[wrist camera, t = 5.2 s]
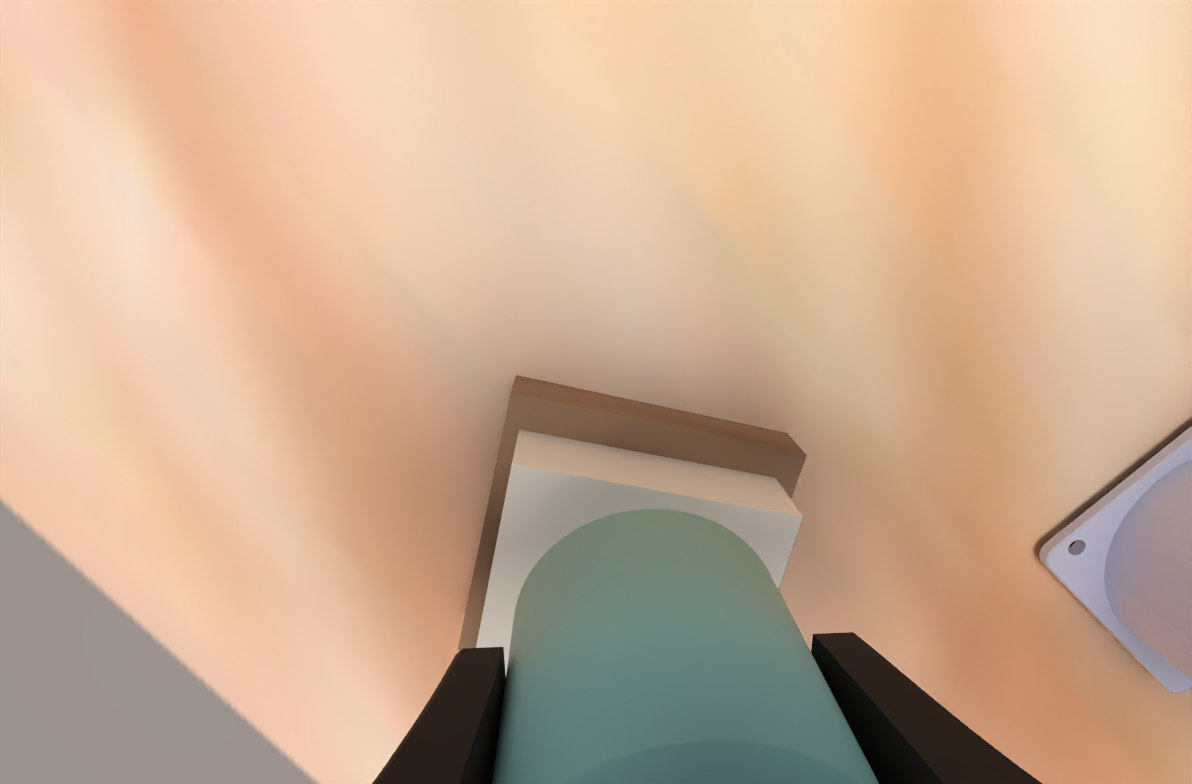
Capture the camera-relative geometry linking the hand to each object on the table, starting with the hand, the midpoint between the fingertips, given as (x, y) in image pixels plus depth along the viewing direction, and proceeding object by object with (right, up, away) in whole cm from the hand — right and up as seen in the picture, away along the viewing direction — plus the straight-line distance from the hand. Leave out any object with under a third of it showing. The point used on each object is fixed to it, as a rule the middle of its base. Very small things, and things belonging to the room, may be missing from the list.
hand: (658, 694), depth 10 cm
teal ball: (0, +1, +1) cm, 1 cm away
